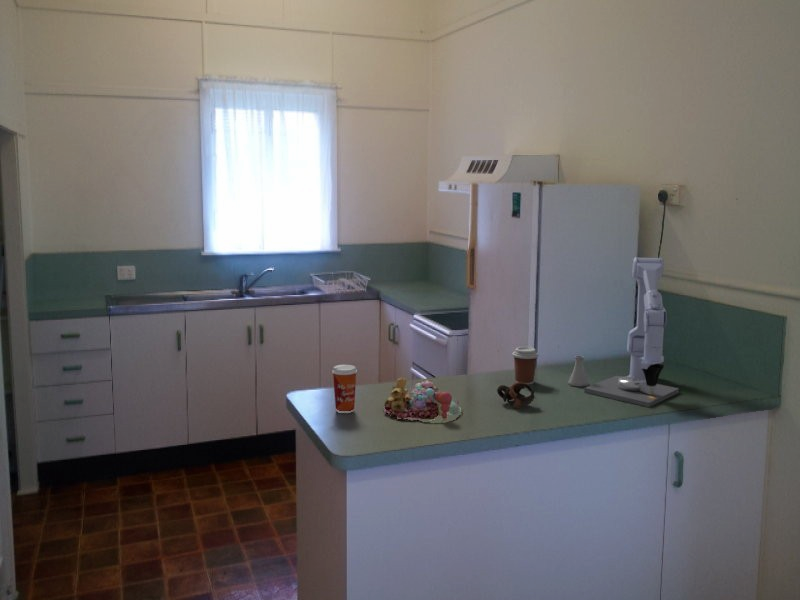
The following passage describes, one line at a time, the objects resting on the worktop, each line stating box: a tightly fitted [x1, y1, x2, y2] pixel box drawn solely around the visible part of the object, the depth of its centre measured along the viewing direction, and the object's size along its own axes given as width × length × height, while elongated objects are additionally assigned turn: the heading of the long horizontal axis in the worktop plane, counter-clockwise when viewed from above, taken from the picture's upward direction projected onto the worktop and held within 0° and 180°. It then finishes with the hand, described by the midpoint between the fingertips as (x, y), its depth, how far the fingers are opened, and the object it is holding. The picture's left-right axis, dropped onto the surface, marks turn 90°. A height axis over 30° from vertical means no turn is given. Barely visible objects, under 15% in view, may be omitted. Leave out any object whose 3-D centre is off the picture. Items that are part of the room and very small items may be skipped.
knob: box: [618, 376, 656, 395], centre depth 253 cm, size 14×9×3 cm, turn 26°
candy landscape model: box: [383, 377, 462, 421], centre depth 236 cm, size 25×24×9 cm
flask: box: [568, 355, 590, 387], centre depth 264 cm, size 7×7×10 cm
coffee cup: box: [511, 346, 539, 385], centre depth 267 cm, size 9×9×12 cm
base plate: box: [584, 375, 680, 408], centre depth 256 cm, size 22×23×2 cm
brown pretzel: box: [496, 382, 536, 410], centre depth 242 cm, size 12×10×8 cm
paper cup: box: [331, 364, 358, 411], centre depth 234 cm, size 8×8×14 cm
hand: (651, 386), depth 249 cm, fingers closed, pressing on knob
